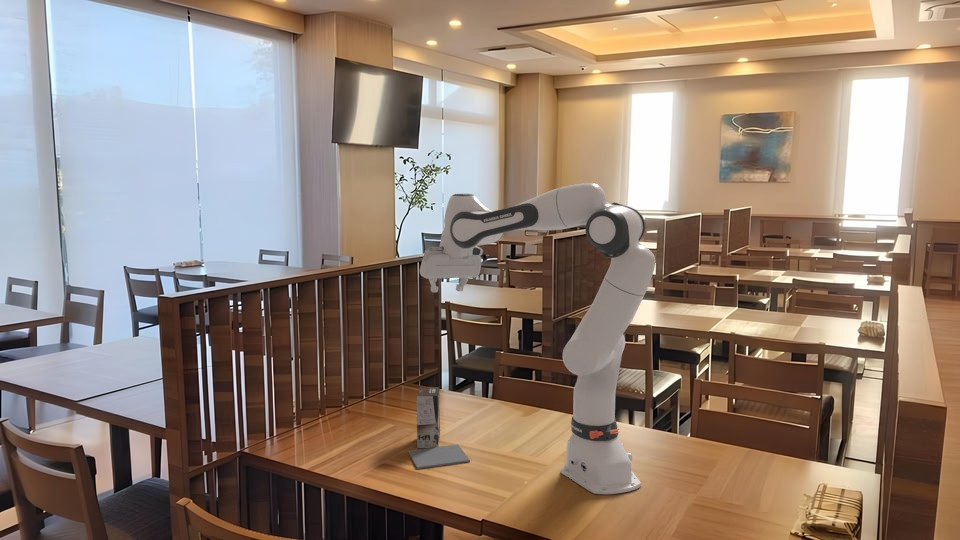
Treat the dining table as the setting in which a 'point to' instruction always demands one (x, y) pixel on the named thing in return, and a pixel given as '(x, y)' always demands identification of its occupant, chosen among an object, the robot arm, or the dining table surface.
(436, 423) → the coffee box
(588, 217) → the robot arm
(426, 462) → the rubber mat
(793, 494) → the dining table surface
